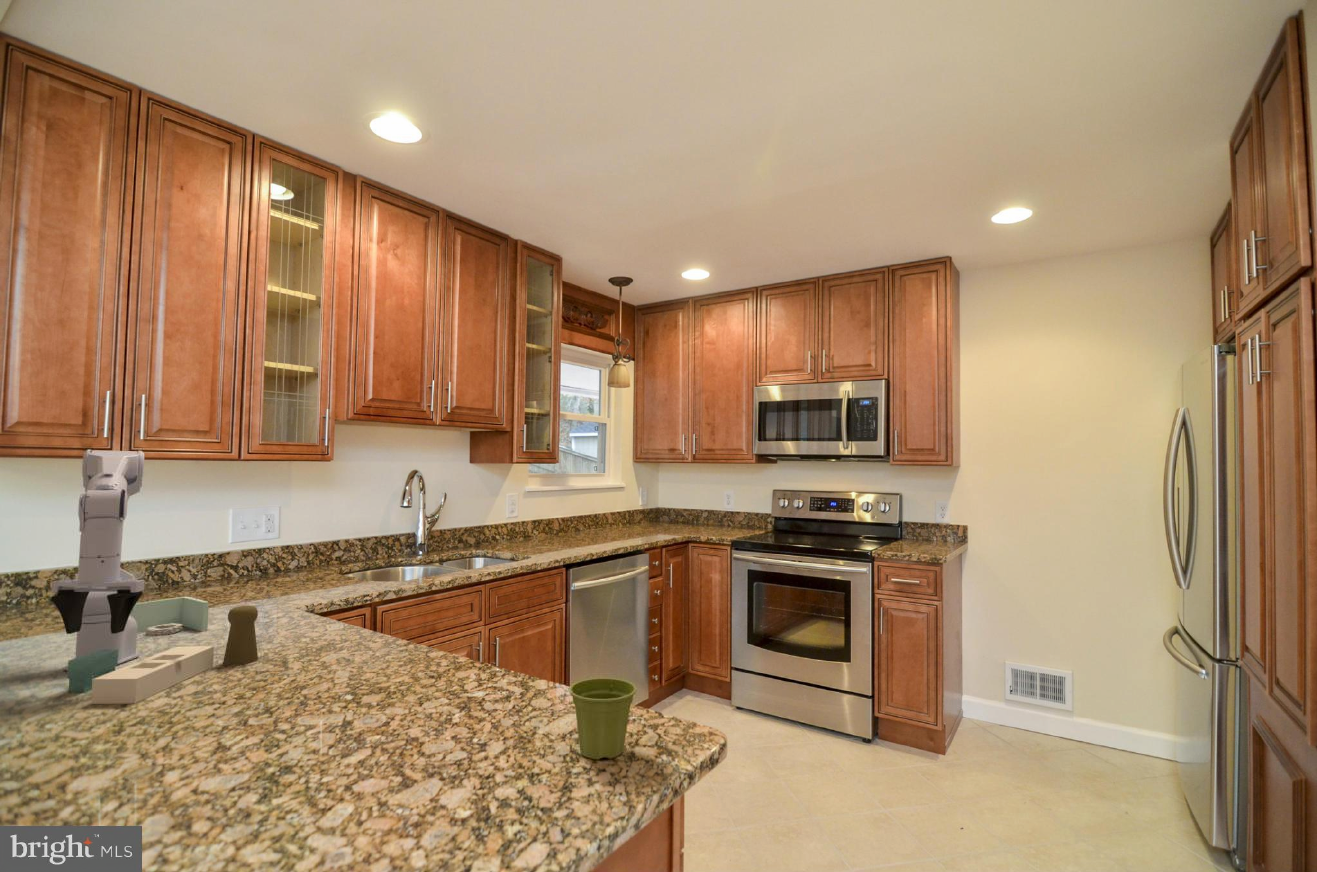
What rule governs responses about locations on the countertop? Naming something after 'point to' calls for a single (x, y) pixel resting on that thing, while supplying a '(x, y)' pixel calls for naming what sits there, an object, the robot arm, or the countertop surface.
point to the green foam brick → (90, 669)
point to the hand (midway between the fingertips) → (95, 632)
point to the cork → (241, 636)
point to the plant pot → (602, 715)
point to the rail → (151, 675)
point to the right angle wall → (171, 615)
